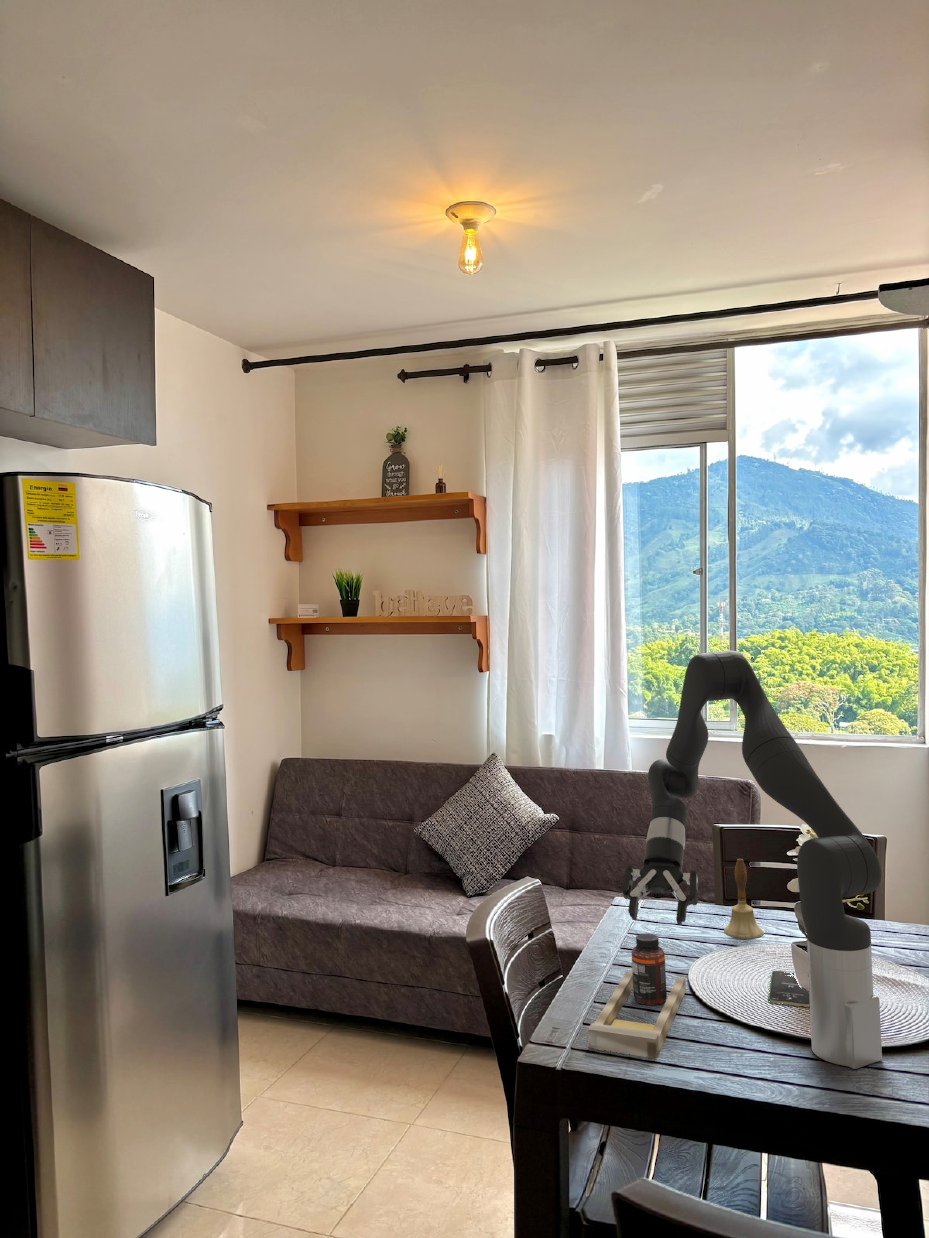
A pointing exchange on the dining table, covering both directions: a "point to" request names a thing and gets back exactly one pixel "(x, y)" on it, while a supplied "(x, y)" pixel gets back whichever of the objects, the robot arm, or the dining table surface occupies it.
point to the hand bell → (742, 910)
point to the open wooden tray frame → (633, 1039)
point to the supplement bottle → (648, 970)
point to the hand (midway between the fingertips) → (656, 920)
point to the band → (633, 1025)
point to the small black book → (787, 990)
